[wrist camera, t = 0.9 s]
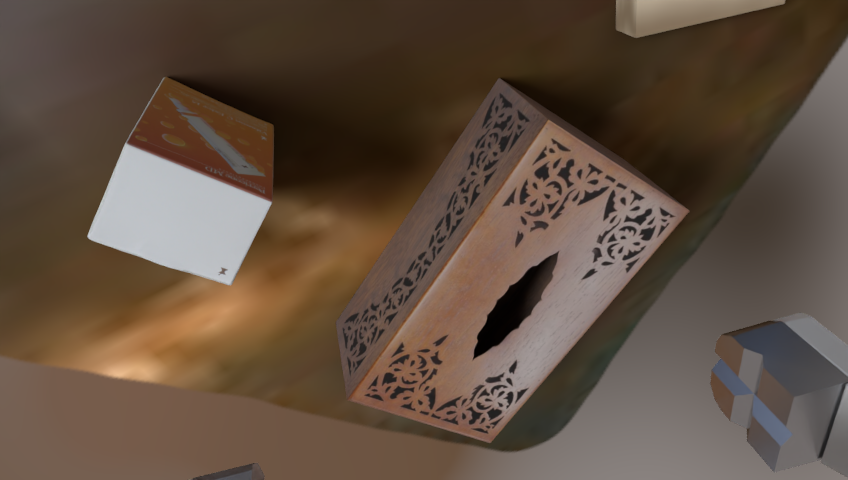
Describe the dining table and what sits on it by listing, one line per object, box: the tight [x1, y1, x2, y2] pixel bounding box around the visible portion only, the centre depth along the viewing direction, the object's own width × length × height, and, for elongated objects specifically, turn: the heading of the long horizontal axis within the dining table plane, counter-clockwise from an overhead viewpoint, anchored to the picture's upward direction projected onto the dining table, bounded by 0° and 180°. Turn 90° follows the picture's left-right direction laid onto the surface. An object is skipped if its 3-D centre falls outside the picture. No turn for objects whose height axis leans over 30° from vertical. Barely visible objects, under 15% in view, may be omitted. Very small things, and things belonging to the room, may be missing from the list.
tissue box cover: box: [336, 78, 689, 443], centre depth 49 cm, size 26×14×10 cm, turn 147°
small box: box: [88, 77, 274, 285], centre depth 38 cm, size 8×6×13 cm
